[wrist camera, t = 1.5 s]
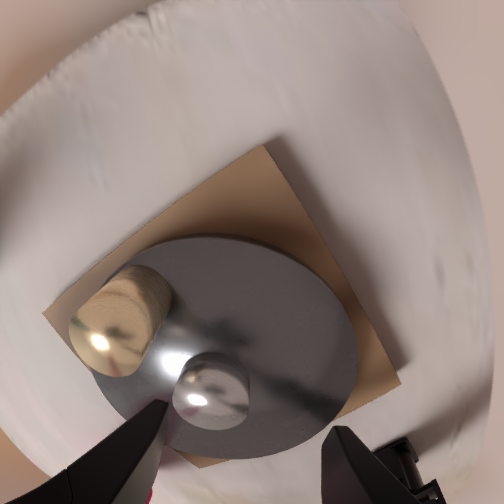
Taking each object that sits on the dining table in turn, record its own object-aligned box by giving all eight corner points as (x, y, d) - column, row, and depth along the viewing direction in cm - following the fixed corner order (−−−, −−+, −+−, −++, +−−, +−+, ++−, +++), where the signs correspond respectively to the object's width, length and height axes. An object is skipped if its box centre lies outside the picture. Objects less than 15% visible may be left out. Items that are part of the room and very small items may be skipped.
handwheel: (387, 385, 20) (418, 451, 14) (199, 463, 24) (189, 522, 17) (256, 169, 16) (254, 175, 10) (54, 319, 20) (2, 369, 13)
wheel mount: (395, 372, 22) (401, 383, 21) (201, 457, 26) (199, 468, 24) (261, 144, 18) (261, 143, 16) (52, 304, 21) (42, 313, 20)
